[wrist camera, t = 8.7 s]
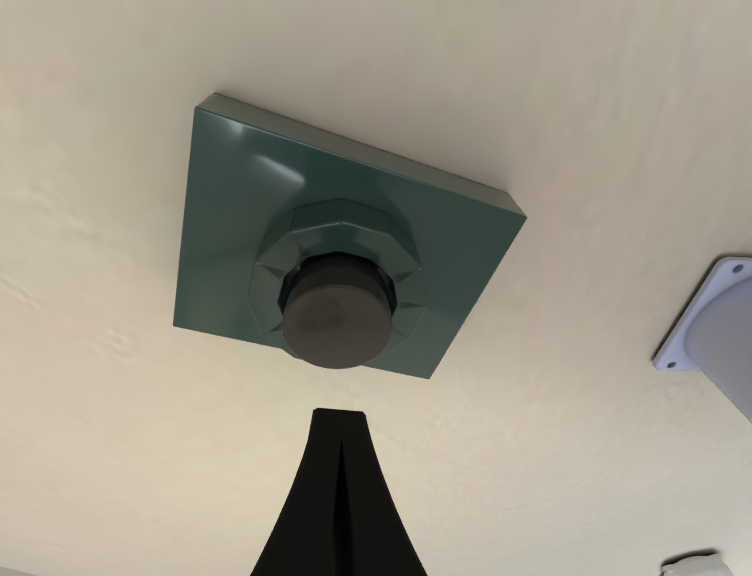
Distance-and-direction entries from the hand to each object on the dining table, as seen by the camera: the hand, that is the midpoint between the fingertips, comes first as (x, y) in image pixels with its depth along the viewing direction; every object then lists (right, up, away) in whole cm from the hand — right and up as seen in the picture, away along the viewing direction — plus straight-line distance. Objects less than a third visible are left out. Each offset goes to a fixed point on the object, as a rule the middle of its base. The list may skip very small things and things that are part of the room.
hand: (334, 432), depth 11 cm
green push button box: (-1, +6, +8) cm, 10 cm away
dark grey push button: (0, +4, +5) cm, 6 cm away
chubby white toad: (+36, -27, +34) cm, 56 cm away
